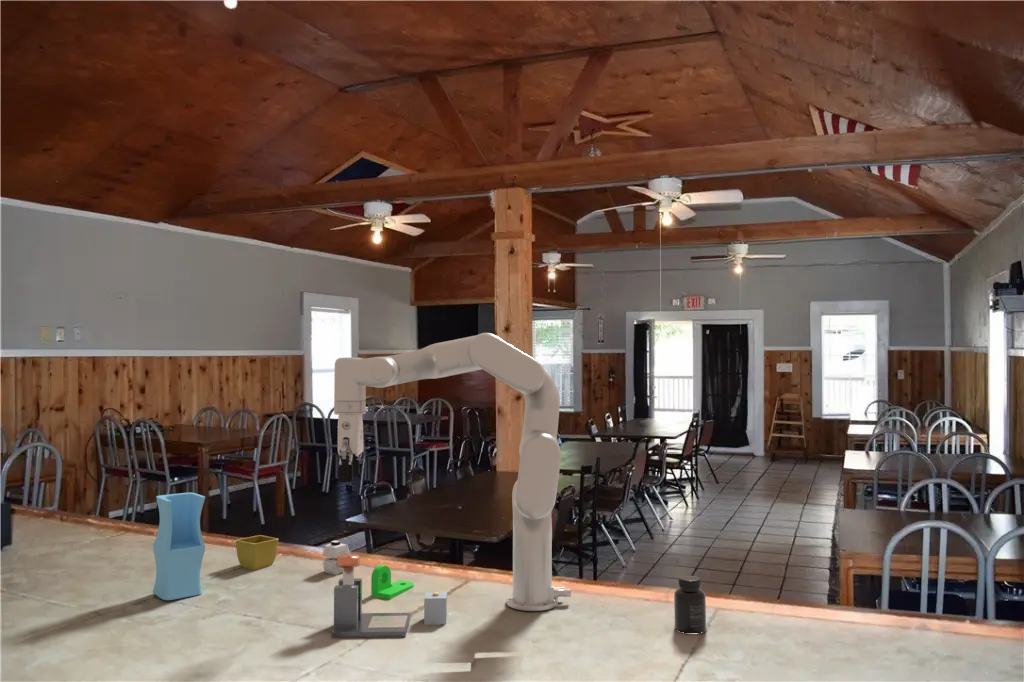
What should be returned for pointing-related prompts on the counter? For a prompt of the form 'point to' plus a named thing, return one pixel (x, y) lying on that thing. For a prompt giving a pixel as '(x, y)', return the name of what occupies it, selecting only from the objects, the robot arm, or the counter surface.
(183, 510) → the vase
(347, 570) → the ram
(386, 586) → the mechanical part
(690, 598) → the supplement bottle
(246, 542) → the flower pot
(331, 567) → the grey blocky fitting
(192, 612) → the counter surface
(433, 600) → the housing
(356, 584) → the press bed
